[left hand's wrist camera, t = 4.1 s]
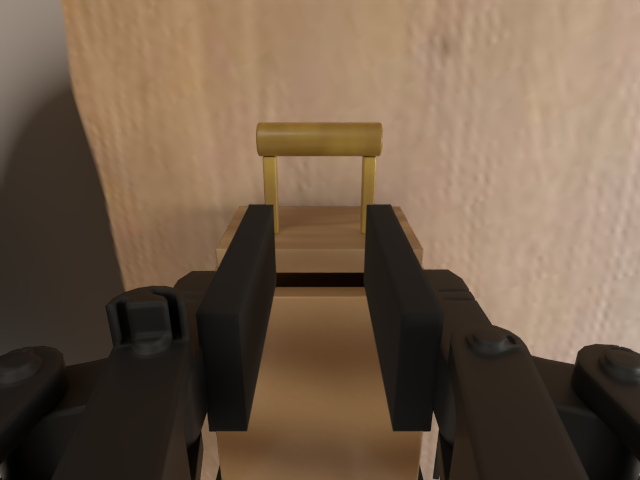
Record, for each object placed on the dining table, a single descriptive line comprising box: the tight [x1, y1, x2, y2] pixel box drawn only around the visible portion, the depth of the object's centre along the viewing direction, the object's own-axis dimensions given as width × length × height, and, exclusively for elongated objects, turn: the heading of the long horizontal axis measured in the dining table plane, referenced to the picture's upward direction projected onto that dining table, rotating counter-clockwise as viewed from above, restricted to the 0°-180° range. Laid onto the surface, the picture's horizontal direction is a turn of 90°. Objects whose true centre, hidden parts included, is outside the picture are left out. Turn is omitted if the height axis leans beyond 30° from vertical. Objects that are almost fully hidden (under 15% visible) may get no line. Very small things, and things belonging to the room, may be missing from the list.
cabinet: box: [215, 266, 424, 480], centre depth 28 cm, size 18×11×9 cm, turn 0°
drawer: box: [216, 123, 423, 287], centre depth 26 cm, size 22×10×7 cm, turn 0°
